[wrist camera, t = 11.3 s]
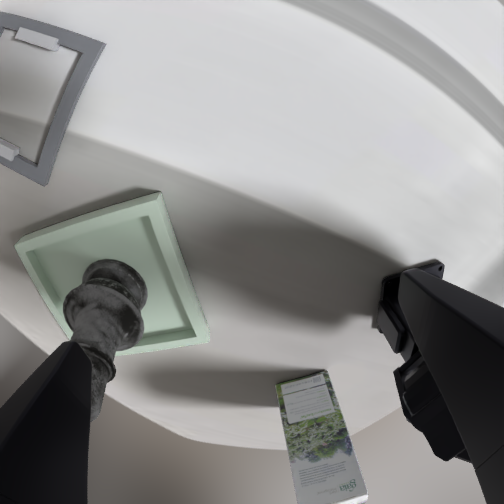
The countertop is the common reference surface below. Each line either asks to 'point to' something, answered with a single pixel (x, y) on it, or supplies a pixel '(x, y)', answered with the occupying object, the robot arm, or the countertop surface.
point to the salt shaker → (106, 318)
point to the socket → (91, 51)
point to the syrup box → (319, 443)
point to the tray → (130, 252)
